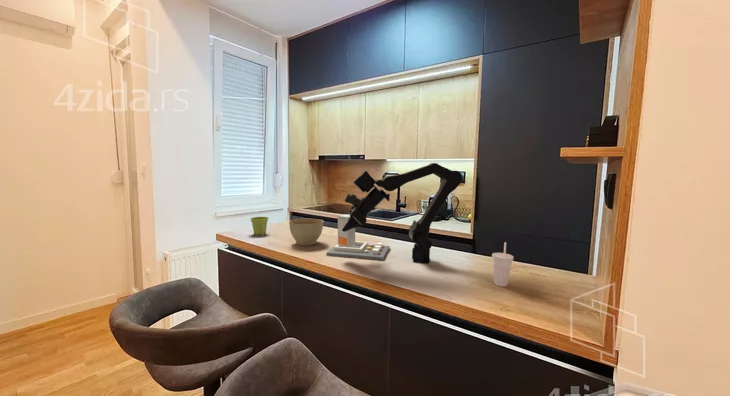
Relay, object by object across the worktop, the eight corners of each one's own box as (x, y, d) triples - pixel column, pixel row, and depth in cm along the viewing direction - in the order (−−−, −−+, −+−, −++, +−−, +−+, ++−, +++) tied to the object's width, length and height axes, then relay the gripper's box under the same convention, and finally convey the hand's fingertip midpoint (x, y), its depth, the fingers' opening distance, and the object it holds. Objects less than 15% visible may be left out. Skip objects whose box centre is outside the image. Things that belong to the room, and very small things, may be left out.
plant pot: (258, 236, 155) (257, 220, 154) (246, 234, 160) (246, 218, 159) (272, 233, 163) (272, 217, 162) (261, 231, 168) (261, 216, 167)
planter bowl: (327, 246, 139) (327, 223, 138) (291, 249, 133) (291, 225, 132) (319, 238, 154) (319, 217, 153) (287, 240, 148) (287, 218, 147)
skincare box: (337, 245, 118) (337, 215, 117) (345, 243, 121) (345, 214, 120) (347, 248, 114) (347, 217, 113) (355, 246, 117) (355, 215, 116)
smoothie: (510, 289, 93) (513, 245, 91) (488, 285, 96) (491, 242, 94) (512, 283, 98) (515, 241, 96) (491, 279, 101) (494, 238, 100)
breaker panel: (389, 248, 137) (389, 242, 137) (383, 260, 120) (383, 253, 119) (339, 244, 142) (339, 238, 142) (326, 255, 125) (326, 248, 124)
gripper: (356, 184, 125) (329, 211, 125) (357, 188, 106) (326, 218, 107) (374, 203, 126) (348, 229, 126) (379, 210, 107) (348, 240, 108)
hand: (342, 228), depth 117 cm, fingers closed on skincare box, 7 cm apart
